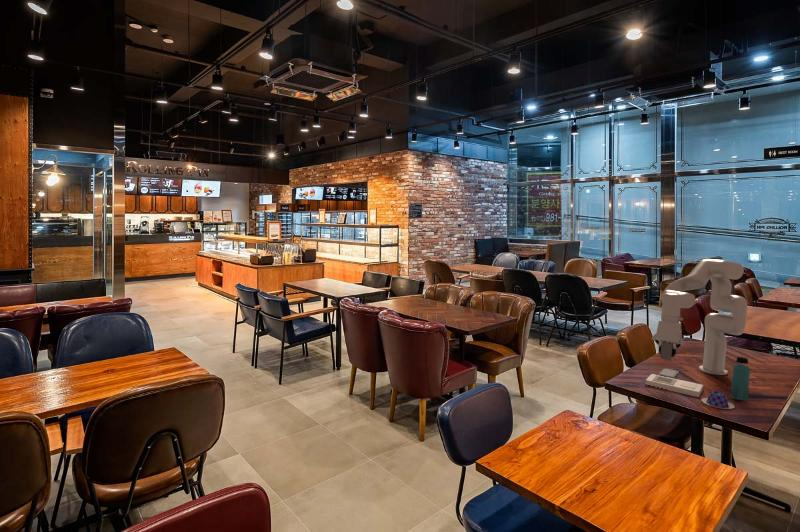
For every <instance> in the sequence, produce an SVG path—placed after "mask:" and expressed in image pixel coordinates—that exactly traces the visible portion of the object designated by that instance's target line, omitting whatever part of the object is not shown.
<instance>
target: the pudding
mask: <svg viewBox="0 0 800 532" xmlns="http://www.w3.org/2000/svg"><path fill="white" fill-rule="evenodd" d="M701 401H702V403H703V404H704V405H705V404H706V405H707V406H709V407H713V408H717V409H724V410H732V409H734V408H735V405H734V404H733V403H731V402H729V400H728V396H727V394H726V393H723V392H722V391H717V390H716V391H710V393H709V395H708V397H703V398H701Z"/></svg>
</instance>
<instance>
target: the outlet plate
mask: <svg viewBox="0 0 800 532" xmlns="http://www.w3.org/2000/svg"><path fill="white" fill-rule="evenodd" d="M645 384H647V385H646V386H648V385H651V386H650V387H652V386H655V387H654V388H657V387H659V388H658V389H661V388H663V389H662V390H665V389H667V390H666V391H670V392H675V393H680V394H684V395H688V396H692V397H696V398H699V397H700V396H701V394H702V392H703V390H704V384H701V383H697V382H691V381H687V380H682V379H678V378H669V377H664V376H660V375H658V374H655V373H651V374H650V375H649V376H648V377H647V378H646V379H645Z"/></svg>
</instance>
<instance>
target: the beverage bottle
mask: <svg viewBox="0 0 800 532" xmlns="http://www.w3.org/2000/svg"><path fill="white" fill-rule="evenodd" d="M736 362H737V363H735V364H733V365H732V375H731V383H730V384H731V385H730V397H731V398H733V399H735V400H739V401H747V400H748V399H749V395H750V374H751V368H750V366H748V365H747V364H749V358H747V357H743V356H737V357H736Z"/></svg>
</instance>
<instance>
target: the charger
mask: <svg viewBox="0 0 800 532" xmlns="http://www.w3.org/2000/svg"><path fill="white" fill-rule="evenodd" d="M672 349H673V343H672V342H666V341H663V342H662V345H661V355H660V360H661V359H662V360H667V361H672V360H673V359H674V357H672Z"/></svg>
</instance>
